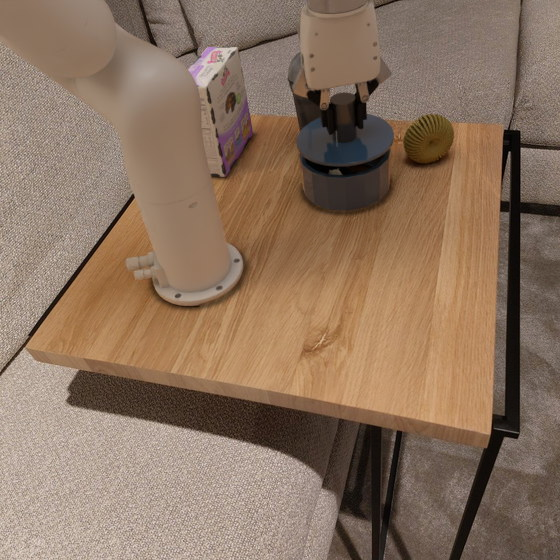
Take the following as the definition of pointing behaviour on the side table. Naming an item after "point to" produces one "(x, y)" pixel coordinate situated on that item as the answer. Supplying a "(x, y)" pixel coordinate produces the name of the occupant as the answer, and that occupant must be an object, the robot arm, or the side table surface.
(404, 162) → the side table surface
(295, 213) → the side table surface
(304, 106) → the beverage cup
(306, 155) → the tin lid
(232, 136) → the candy box
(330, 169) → the watch
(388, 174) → the tin
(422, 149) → the sculpture
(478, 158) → the side table surface
